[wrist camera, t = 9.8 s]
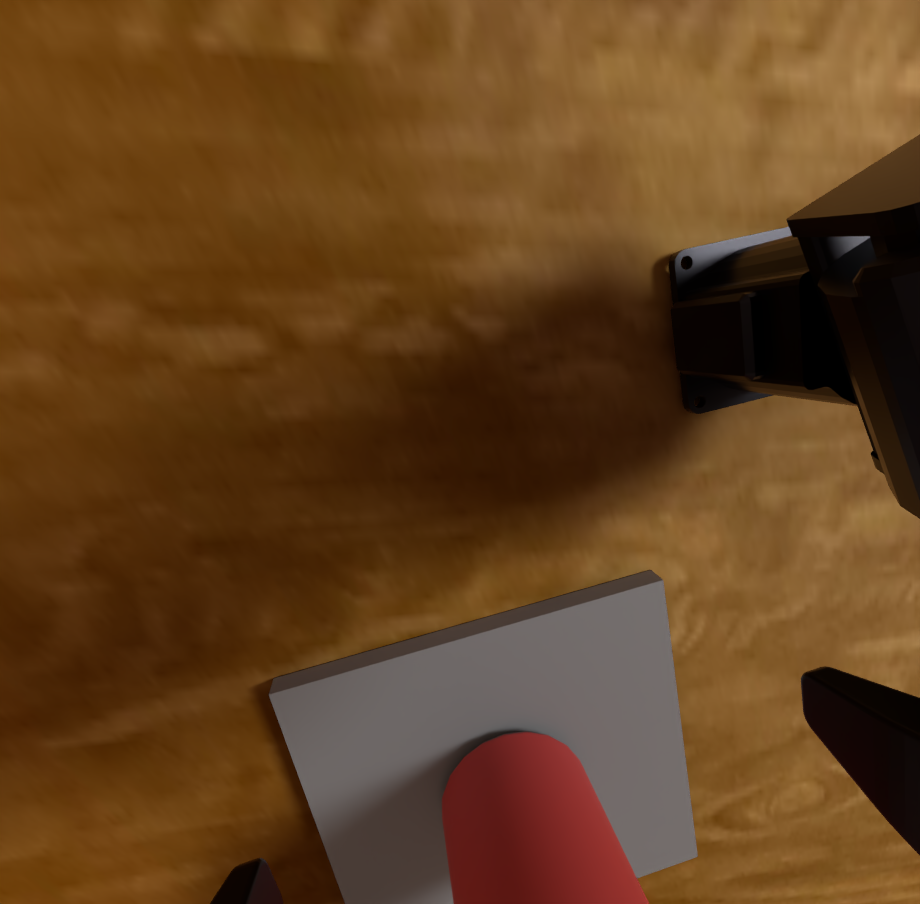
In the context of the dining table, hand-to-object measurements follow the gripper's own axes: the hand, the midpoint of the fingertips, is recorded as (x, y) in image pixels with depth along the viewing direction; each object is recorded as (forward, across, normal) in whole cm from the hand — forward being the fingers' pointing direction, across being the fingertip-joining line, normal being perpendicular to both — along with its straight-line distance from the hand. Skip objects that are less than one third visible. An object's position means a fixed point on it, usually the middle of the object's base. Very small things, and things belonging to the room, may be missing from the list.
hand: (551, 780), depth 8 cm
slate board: (+13, 0, +13) cm, 18 cm away
